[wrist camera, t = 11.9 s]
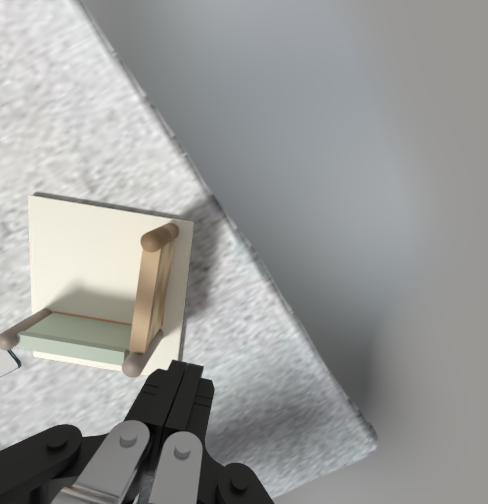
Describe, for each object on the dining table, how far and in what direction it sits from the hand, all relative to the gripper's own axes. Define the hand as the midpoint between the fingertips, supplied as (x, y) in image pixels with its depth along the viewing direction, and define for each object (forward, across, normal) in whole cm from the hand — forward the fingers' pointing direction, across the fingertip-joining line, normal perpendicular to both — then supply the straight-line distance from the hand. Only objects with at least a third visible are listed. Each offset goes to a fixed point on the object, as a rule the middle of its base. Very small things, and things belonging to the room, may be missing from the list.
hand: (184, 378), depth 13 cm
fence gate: (+18, +7, +3) cm, 19 cm away
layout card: (+19, +13, +7) cm, 24 cm away
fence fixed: (+19, +13, +11) cm, 26 cm away
